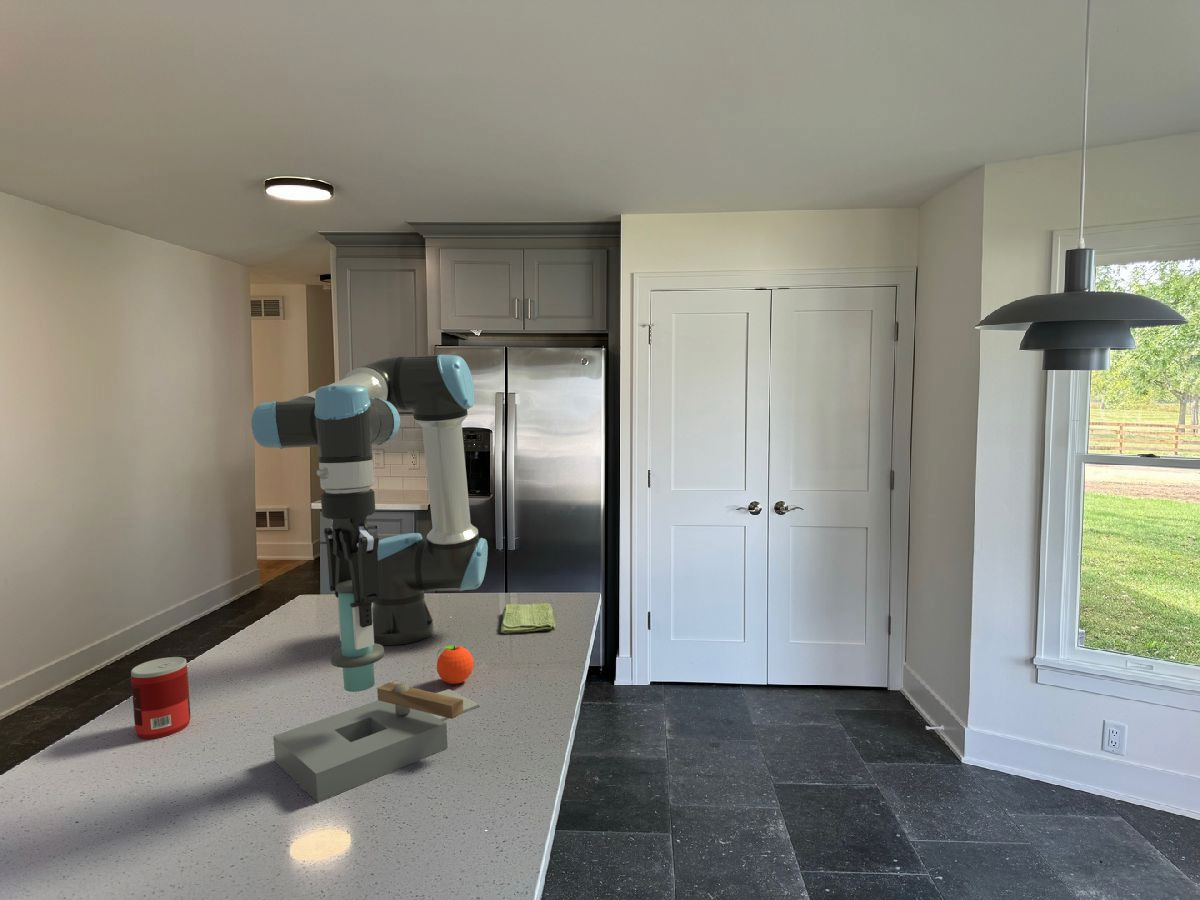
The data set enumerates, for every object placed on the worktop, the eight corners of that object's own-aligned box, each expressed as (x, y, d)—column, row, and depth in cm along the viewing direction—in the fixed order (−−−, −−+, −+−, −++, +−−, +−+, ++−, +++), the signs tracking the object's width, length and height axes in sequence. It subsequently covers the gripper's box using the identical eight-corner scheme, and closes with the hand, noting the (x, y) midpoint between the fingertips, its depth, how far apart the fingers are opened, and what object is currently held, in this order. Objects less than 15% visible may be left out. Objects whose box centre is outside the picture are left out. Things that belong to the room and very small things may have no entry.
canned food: (201, 721, 119) (197, 658, 119) (158, 742, 112) (153, 676, 111) (168, 716, 122) (164, 654, 121) (124, 736, 114) (119, 671, 114)
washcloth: (500, 637, 159) (499, 623, 159) (502, 615, 177) (502, 602, 177) (557, 633, 161) (556, 620, 161) (554, 611, 178) (553, 599, 178)
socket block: (274, 761, 104) (273, 735, 104) (397, 717, 118) (395, 694, 118) (317, 802, 93) (316, 773, 93) (447, 748, 107) (446, 723, 106)
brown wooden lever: (390, 704, 113) (388, 678, 113) (463, 723, 105) (462, 695, 105) (378, 710, 111) (377, 684, 111) (452, 730, 103) (451, 702, 103)
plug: (324, 686, 105) (317, 584, 104) (371, 671, 111) (365, 574, 109) (346, 701, 100) (339, 593, 99) (394, 684, 105) (388, 582, 104)
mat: (399, 708, 122) (399, 706, 122) (448, 690, 129) (448, 688, 129) (428, 725, 115) (428, 723, 114) (479, 706, 121) (479, 704, 121)
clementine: (425, 685, 132) (423, 648, 131) (449, 672, 138) (447, 637, 137) (458, 692, 128) (456, 654, 127) (481, 678, 134) (480, 642, 134)
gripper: (299, 488, 107) (309, 636, 108) (348, 497, 94) (358, 664, 96) (346, 483, 112) (355, 624, 114) (399, 490, 99) (408, 649, 101)
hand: (356, 642), depth 105 cm, fingers closed on plug, 4 cm apart
